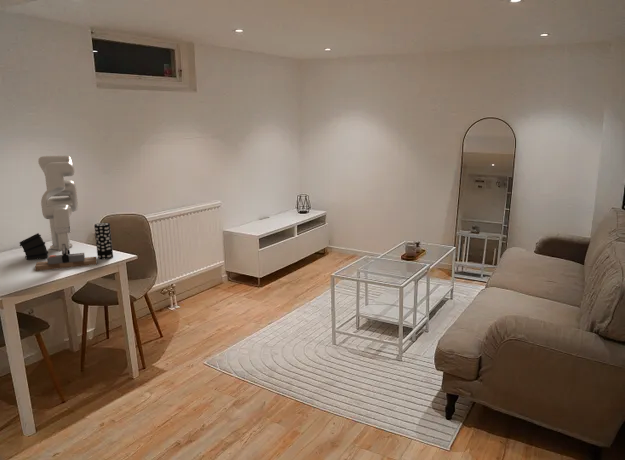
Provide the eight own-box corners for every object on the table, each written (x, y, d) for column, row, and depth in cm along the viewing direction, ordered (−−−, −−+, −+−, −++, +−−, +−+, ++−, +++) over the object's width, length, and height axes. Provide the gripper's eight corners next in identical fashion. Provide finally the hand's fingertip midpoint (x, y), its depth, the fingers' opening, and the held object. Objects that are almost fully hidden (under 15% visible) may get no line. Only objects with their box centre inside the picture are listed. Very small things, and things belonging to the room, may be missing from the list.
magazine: (52, 256, 279) (37, 234, 274) (31, 266, 278) (15, 244, 273) (54, 254, 283) (39, 232, 278) (33, 264, 281) (17, 243, 276)
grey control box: (49, 266, 265) (47, 255, 264) (85, 262, 272) (84, 251, 270) (48, 268, 261) (47, 257, 260) (84, 265, 268) (83, 253, 266)
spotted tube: (96, 259, 278) (92, 226, 273) (99, 255, 286) (96, 223, 281) (111, 259, 279) (108, 225, 275) (114, 255, 287) (111, 222, 283)
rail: (37, 266, 265) (36, 262, 264) (96, 260, 276) (96, 256, 276) (35, 270, 258) (34, 266, 257) (96, 264, 269) (96, 260, 268)
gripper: (56, 226, 269) (60, 256, 273) (53, 234, 253) (57, 265, 257) (71, 225, 271) (74, 254, 276) (69, 232, 256) (73, 263, 260)
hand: (66, 259), depth 266 cm, fingers open, 9 cm apart
